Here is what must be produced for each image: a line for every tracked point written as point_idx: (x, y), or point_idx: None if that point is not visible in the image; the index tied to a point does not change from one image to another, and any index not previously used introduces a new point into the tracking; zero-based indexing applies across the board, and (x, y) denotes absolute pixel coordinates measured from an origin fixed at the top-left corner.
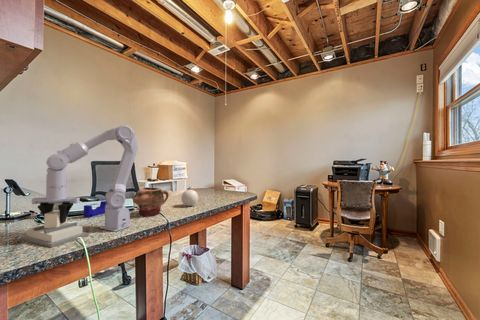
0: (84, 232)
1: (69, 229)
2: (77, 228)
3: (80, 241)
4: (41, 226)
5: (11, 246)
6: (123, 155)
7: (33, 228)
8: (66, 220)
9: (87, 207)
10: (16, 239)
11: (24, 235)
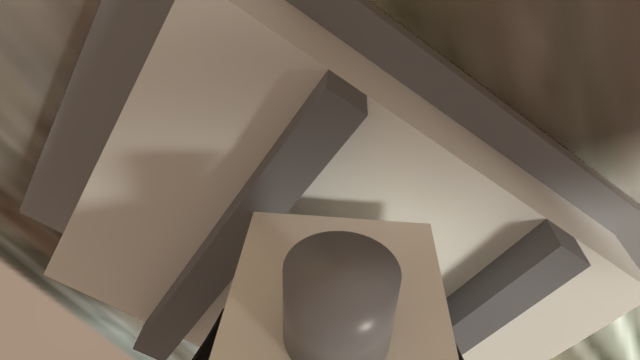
0: (637, 221)
1: (519, 354)
2: (597, 322)
3: (602, 335)
4: (188, 326)
5: (127, 325)
6: None
7: (141, 344)
8: (433, 267)
9: None
10: (3, 196)
11: (29, 197)
